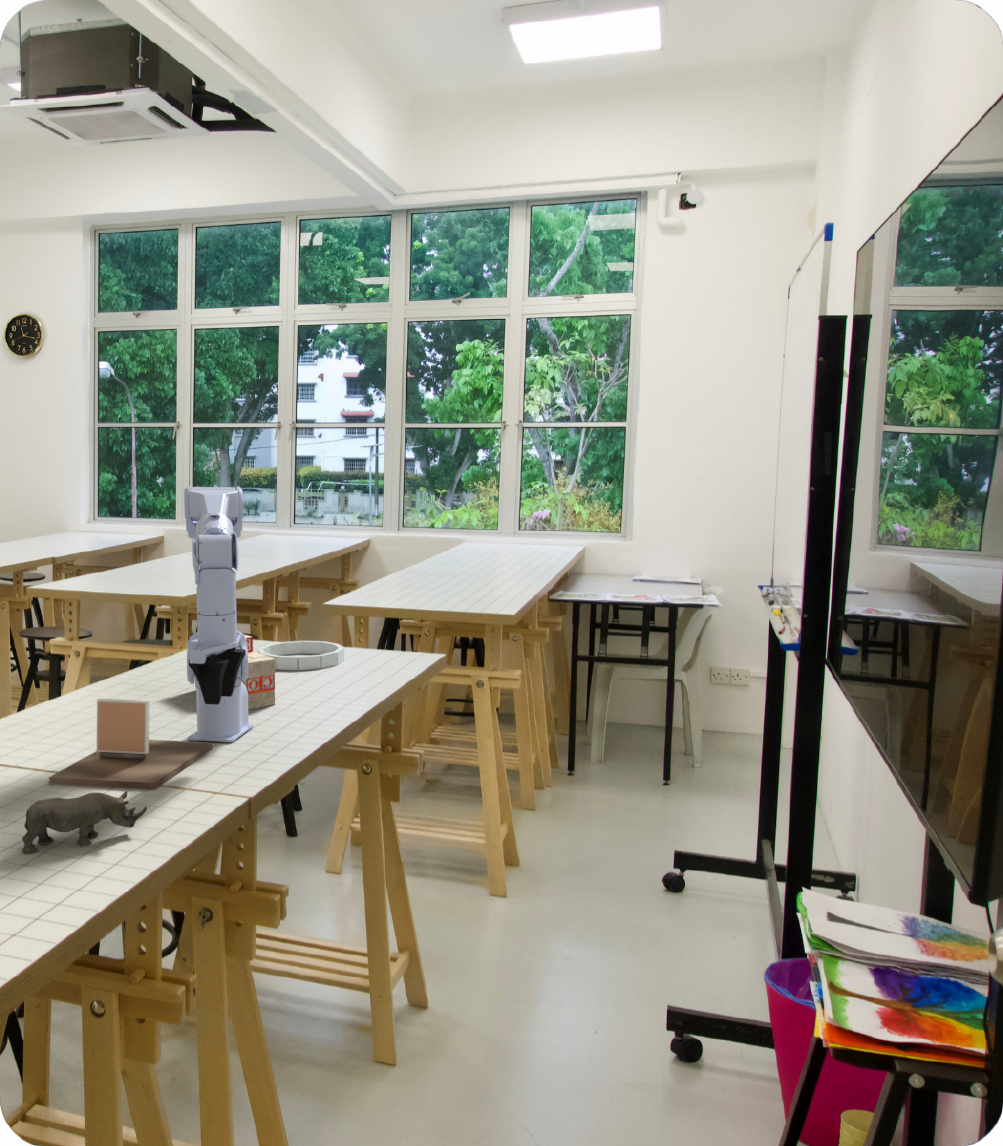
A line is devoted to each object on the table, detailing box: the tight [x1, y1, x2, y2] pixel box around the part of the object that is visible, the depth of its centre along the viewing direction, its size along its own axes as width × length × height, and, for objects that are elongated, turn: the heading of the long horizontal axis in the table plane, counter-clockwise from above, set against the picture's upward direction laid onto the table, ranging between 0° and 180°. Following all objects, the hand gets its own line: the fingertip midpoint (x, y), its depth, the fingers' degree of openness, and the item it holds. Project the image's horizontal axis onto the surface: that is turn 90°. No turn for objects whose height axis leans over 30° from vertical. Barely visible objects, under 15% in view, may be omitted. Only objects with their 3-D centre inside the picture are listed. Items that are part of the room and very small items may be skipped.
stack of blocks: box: [241, 634, 276, 710], centre depth 171 cm, size 21×6×12 cm, turn 43°
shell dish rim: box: [257, 640, 345, 671], centre depth 204 cm, size 20×20×3 cm
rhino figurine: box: [21, 790, 148, 855], centre depth 103 cm, size 4×14×6 cm, turn 115°
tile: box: [95, 698, 150, 754], centre depth 130 cm, size 8×8×1 cm
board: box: [48, 739, 214, 791], centre depth 130 cm, size 18×16×2 cm
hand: (218, 699), depth 131 cm, fingers open, 4 cm apart
